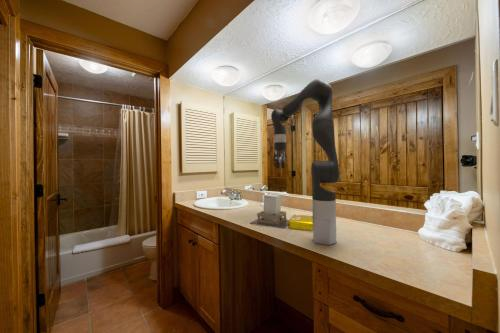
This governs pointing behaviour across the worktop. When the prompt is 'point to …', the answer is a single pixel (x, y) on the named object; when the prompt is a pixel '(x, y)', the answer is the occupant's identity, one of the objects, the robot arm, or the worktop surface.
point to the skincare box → (272, 206)
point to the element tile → (301, 222)
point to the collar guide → (279, 224)
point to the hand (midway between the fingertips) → (280, 168)
